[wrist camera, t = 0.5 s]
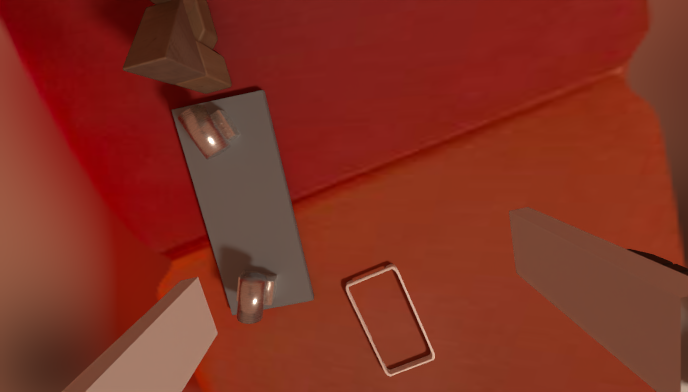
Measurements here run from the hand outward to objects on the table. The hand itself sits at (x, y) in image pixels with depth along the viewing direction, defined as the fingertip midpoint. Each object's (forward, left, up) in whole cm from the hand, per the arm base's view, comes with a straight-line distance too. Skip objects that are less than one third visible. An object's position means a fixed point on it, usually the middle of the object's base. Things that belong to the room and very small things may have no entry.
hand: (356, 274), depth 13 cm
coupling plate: (+1, -13, -27) cm, 30 cm away
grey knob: (+11, -14, -27) cm, 32 cm away
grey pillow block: (-9, -14, -27) cm, 32 cm away
